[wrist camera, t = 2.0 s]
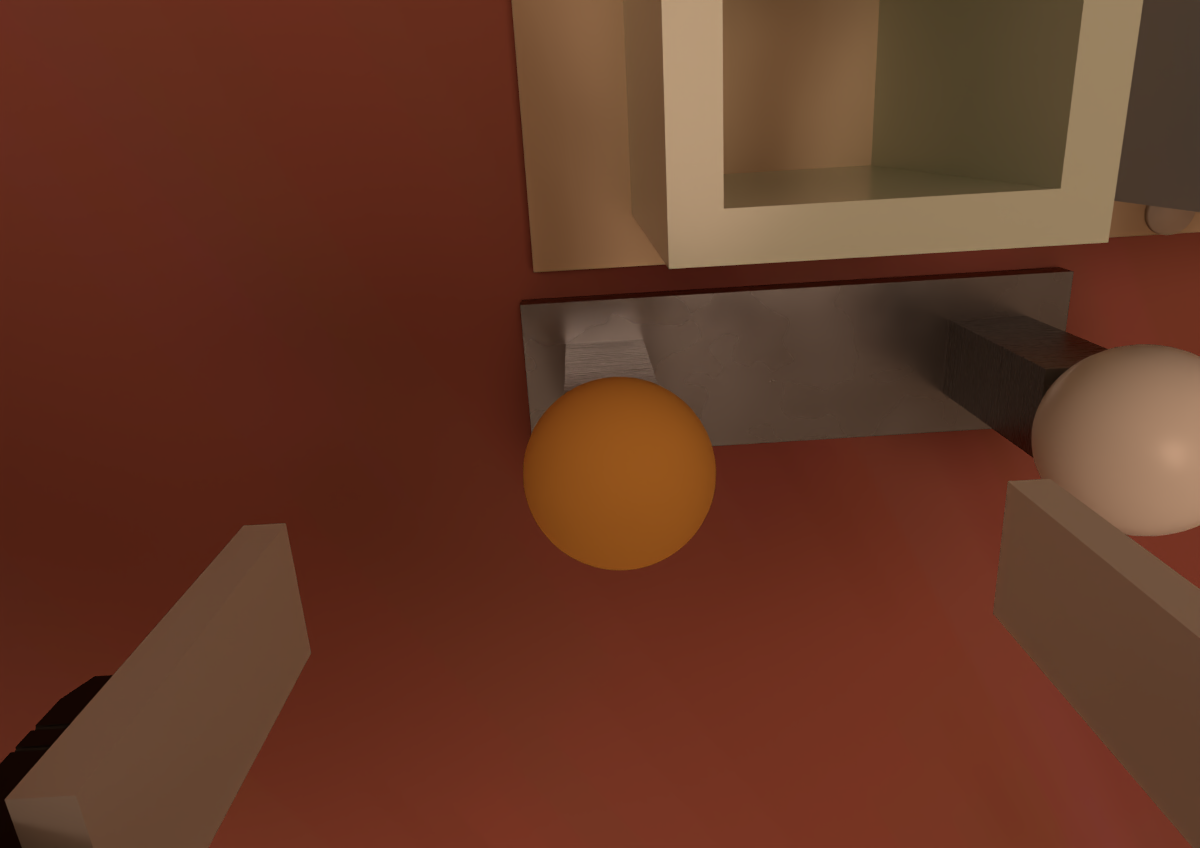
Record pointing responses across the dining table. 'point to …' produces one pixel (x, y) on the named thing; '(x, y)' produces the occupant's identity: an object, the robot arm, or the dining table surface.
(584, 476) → the orange ball
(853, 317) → the ball rack
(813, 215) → the tube sage
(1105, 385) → the white ball
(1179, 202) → the grey square bin
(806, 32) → the board
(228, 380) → the dining table surface
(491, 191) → the dining table surface
